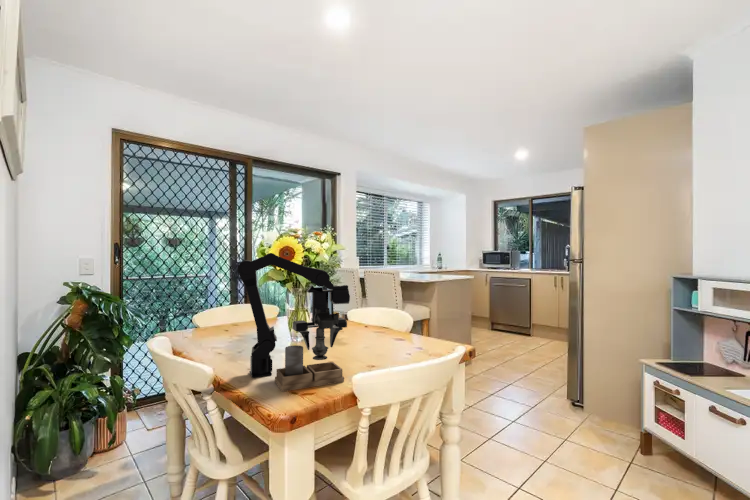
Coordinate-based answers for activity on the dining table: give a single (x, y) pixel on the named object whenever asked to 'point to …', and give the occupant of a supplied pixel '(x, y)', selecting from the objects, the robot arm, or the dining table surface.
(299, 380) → the condiment rack
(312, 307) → the robot arm
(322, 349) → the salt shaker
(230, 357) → the dining table surface
